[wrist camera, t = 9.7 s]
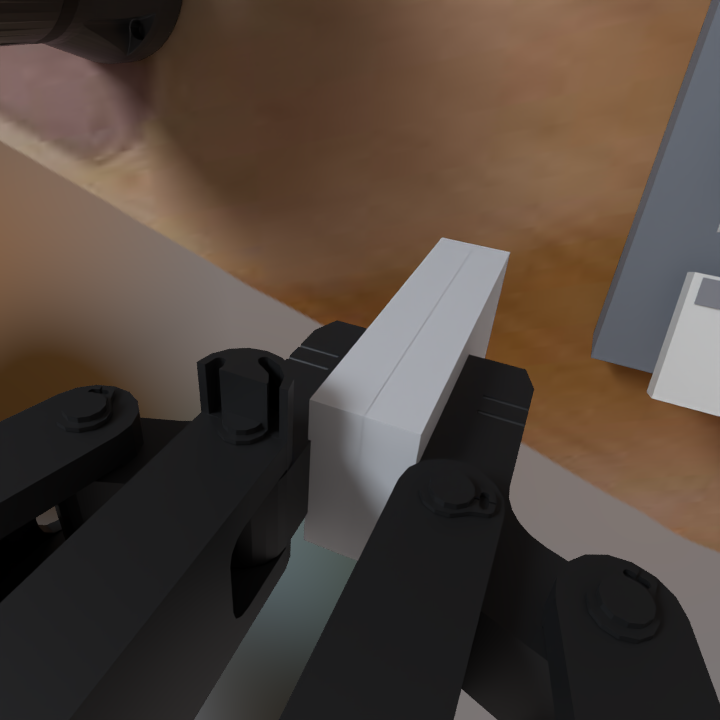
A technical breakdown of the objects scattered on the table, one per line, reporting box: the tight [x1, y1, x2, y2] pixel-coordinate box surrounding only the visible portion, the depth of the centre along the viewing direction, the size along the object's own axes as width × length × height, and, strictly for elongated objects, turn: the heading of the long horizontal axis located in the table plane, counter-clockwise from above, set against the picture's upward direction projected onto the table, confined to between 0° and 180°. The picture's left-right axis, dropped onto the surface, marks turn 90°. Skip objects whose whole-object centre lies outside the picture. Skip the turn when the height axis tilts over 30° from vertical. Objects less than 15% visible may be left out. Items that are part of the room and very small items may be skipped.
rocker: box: [647, 272, 720, 416], centre depth 35 cm, size 5×8×2 cm, turn 174°
